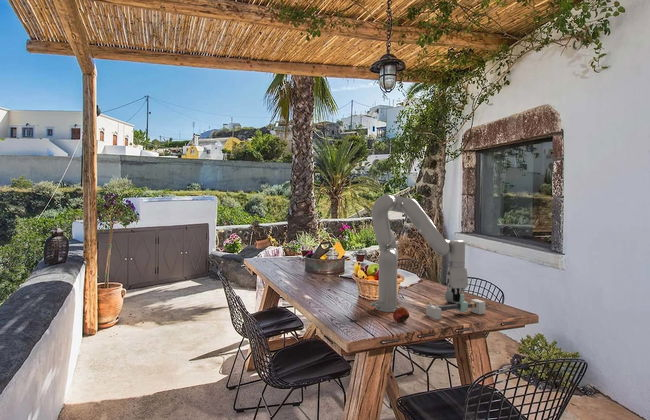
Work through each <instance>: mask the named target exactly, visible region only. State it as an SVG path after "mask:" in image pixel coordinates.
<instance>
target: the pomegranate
mask: <svg viewBox="0 0 650 420" xmlns="http://www.w3.org/2000/svg"><path fill="white" fill-rule="evenodd" d="M399 307H400V306H399ZM396 308H397V307H396ZM392 313H393V314H392V318H393V320H394V321H395V322H396V323H404V325H407V324H406V321H407V320H408V319H409V318H410V312H409V311H408V310H407V309H406V308H405V307H403V306H402V307H400V308H397V309H396V310H395V311H394V312H392Z"/></svg>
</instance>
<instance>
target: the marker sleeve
mask: <svg viewBox="0 0 650 420" xmlns="http://www.w3.org/2000/svg"><path fill="white" fill-rule="evenodd" d="M464 300H465V293H463V294H460V302H456V304H461V309H455V310H456V311H458V312H460V313H464V312H465V313H466V312H469V311H468V310H469V308H468V303H469V302H468V301H466V300H465V301H464Z"/></svg>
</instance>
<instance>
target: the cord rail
mask: <svg viewBox="0 0 650 420" xmlns="http://www.w3.org/2000/svg"><path fill="white" fill-rule="evenodd" d="M456 309H461V304H454V303H453V304H448V305H447V304H445V305H437V304H435V305H434V304H433V302H429V304H426V313H425V315H426V316H427V317H430V318H431V319H434V320H441V319H442V311H450V310H456ZM468 309H470V312H472V313H474V314H476V315H477V314H478V315H485V314H486V301H484V300H481V299H478V298H474V299H473V298H472V299H470V302H468Z"/></svg>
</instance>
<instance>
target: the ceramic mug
mask: <svg viewBox="0 0 650 420" xmlns="http://www.w3.org/2000/svg"><path fill="white" fill-rule="evenodd" d="M461 294H464V293H463V291H461ZM444 296H445V301H446V302H447V303H450V304H451V303H452V304H453V305H454V304H456V302H455V301H453V293H452V292H451V291H450V290H447V289H446V292H445V295H444ZM464 301H466V300H465V299H464Z"/></svg>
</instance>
